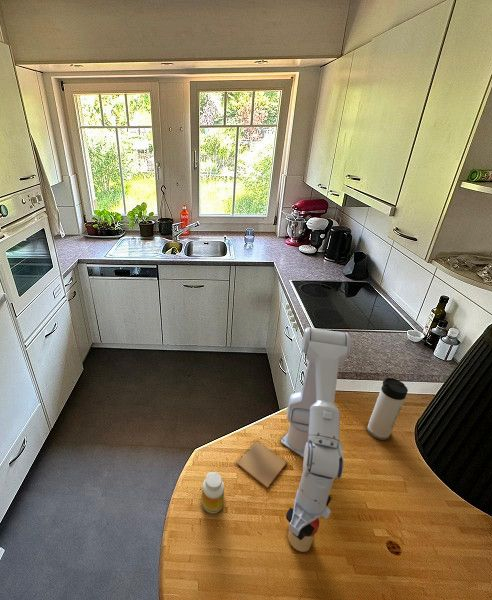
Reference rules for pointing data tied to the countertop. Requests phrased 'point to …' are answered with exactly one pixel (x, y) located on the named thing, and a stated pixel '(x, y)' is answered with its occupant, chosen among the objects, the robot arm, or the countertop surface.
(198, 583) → the countertop surface
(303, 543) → the jar
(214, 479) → the supplement bottle
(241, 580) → the countertop surface
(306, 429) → the robot arm
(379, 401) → the travel mug
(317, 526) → the lid
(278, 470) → the trivet
